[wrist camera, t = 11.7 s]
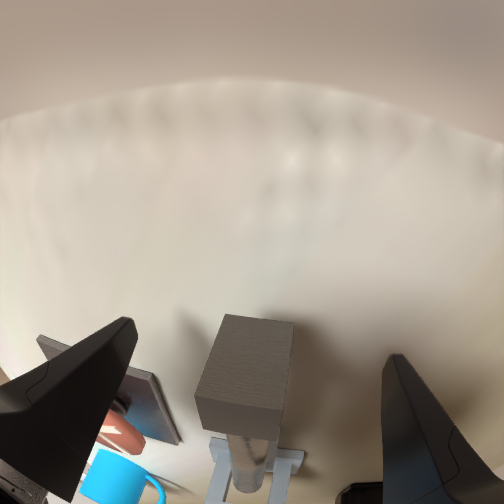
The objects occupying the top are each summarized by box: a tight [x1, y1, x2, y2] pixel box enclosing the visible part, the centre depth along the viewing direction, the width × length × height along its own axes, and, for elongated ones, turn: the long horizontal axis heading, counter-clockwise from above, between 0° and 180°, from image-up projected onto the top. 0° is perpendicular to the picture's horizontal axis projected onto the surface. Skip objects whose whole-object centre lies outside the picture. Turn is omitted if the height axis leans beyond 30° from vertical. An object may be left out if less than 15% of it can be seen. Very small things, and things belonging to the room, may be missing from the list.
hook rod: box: [194, 314, 294, 493], centre depth 11 cm, size 2×13×3 cm, turn 179°
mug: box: [79, 449, 166, 504], centre depth 29 cm, size 12×8×8 cm
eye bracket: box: [204, 427, 304, 504], centre depth 17 cm, size 7×8×6 cm
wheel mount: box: [36, 335, 180, 446], centre depth 19 cm, size 10×10×1 cm
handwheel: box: [96, 409, 146, 455], centre depth 16 cm, size 8×8×6 cm
